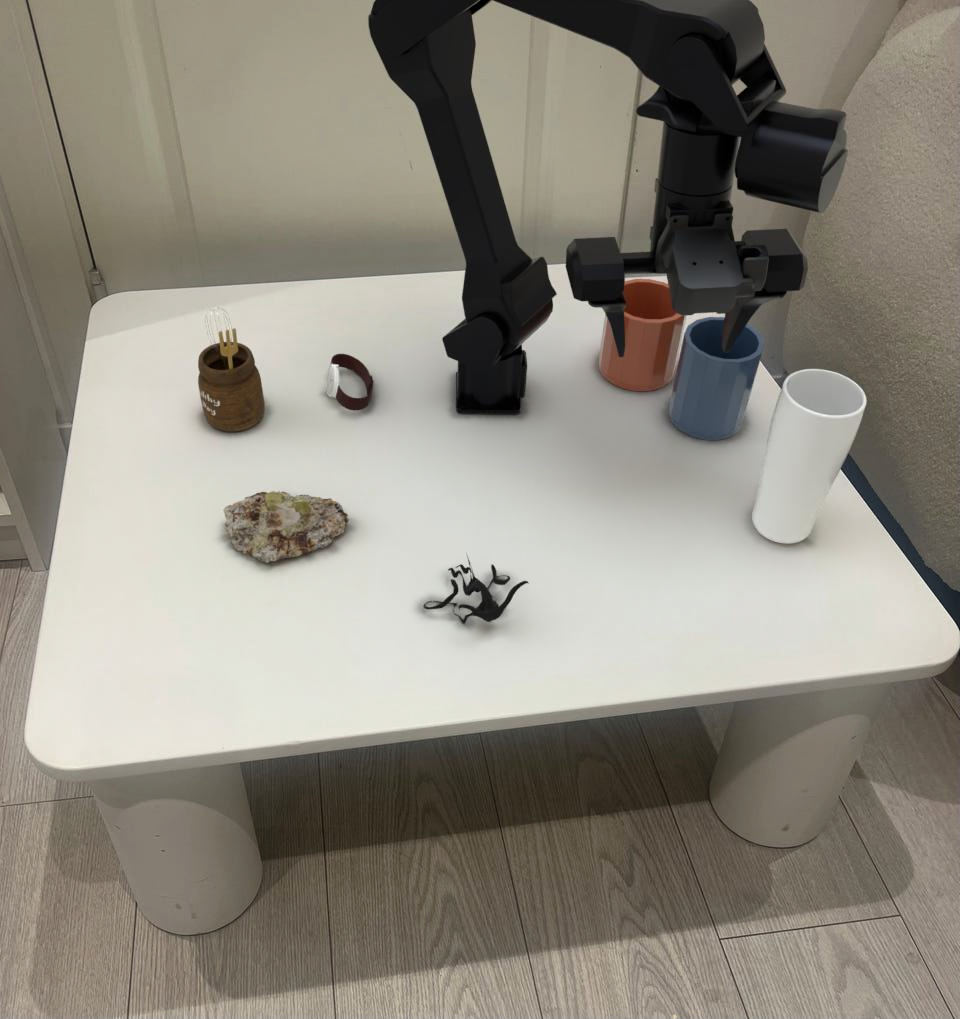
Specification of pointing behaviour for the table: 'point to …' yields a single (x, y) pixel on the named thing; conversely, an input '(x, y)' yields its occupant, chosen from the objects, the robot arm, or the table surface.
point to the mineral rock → (283, 524)
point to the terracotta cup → (644, 338)
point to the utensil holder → (229, 383)
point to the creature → (487, 606)
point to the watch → (333, 381)
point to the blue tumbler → (713, 380)
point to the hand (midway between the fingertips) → (672, 352)
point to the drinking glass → (805, 451)
